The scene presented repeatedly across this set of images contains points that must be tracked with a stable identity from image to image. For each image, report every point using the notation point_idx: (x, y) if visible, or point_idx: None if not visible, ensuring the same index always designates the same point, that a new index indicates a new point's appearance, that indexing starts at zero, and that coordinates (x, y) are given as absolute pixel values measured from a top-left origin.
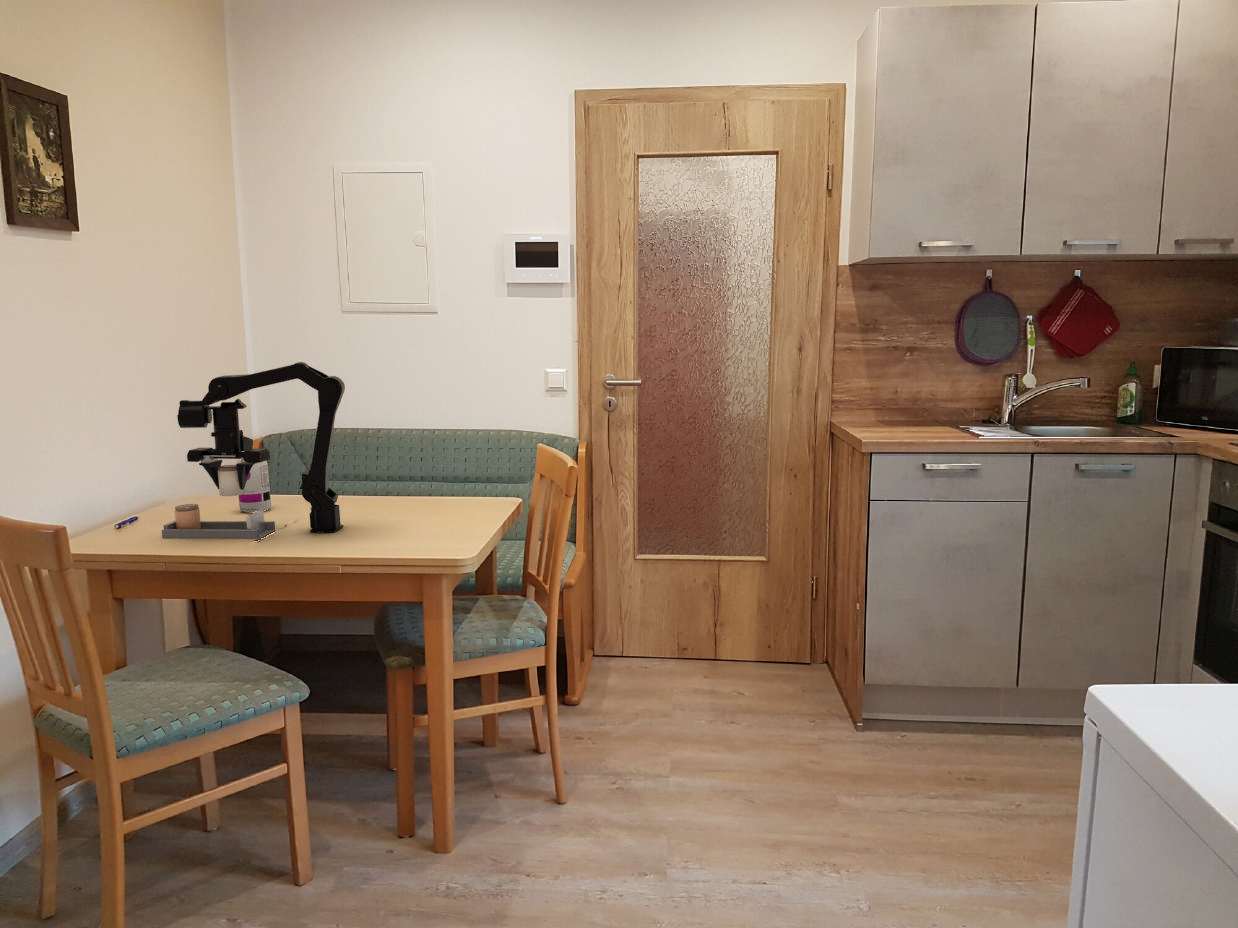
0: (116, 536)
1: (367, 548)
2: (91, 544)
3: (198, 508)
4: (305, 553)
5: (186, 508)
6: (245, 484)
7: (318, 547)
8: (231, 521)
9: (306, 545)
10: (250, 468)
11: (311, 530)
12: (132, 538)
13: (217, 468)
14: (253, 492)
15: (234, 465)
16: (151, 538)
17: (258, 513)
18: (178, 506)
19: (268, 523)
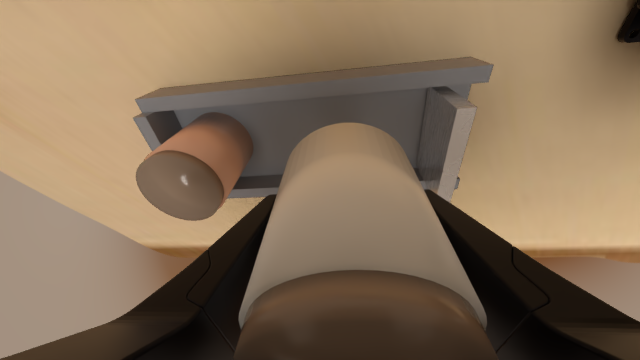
0: (40, 145)
1: None
2: (83, 203)
3: (215, 172)
4: (583, 231)
5: (211, 215)
6: (450, 204)
7: (622, 193)
8: (311, 87)
9: (589, 181)
10: (620, 326)
11: (632, 38)
12: (100, 158)
13: (220, 344)
14: None
15: (383, 350)
16: (143, 155)
17: (463, 148)
18: (156, 198)
19: (466, 82)
